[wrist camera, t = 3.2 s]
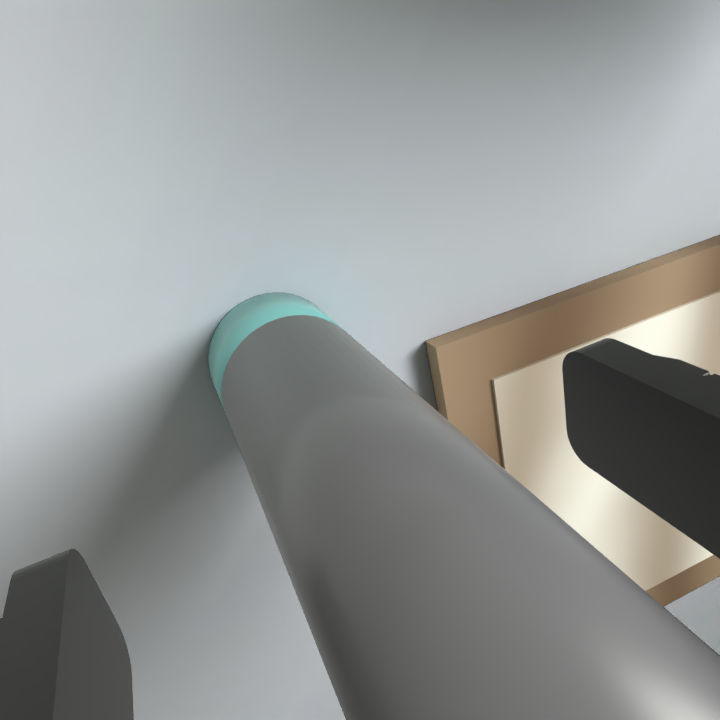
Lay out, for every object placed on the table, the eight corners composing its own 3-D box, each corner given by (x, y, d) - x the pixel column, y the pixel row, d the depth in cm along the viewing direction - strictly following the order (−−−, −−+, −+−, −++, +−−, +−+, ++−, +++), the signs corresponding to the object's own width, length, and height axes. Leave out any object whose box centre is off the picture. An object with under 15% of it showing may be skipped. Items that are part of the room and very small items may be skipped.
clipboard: (890, 173, 21) (947, 176, 19) (838, 496, 27) (878, 516, 25) (425, 341, 16) (454, 360, 15) (485, 684, 22) (511, 722, 21)
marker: (319, 275, 15) (1048, 785, 3) (347, 390, 16) (933, 1038, 5) (189, 316, 14) (544, 1188, 2) (230, 433, 15) (584, 1349, 4)
